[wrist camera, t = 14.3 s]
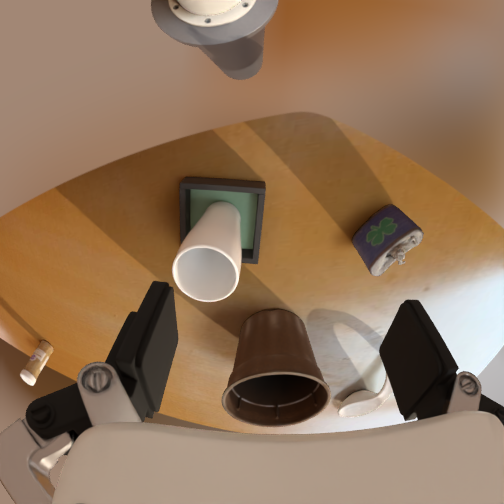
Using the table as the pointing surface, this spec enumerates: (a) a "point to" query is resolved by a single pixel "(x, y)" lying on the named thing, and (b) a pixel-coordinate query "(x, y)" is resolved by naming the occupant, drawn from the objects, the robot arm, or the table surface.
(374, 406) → the spoon rest
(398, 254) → the flask
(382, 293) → the table surface
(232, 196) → the cup holder
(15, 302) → the table surface
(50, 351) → the sprinkles bottle
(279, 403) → the plant pot
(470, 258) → the table surface
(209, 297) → the white tapered cylinder
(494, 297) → the table surface
